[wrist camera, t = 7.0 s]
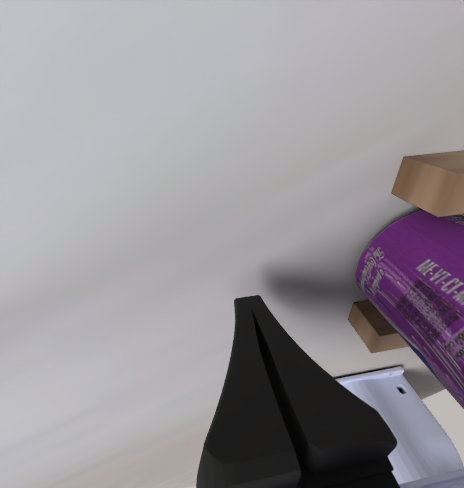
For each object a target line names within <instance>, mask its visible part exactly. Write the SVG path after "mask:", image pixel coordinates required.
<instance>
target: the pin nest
mask: <svg viewBox="0 0 464 488" xmlns="http://www.w3.org/2000/svg"><path fill="white" fill-rule="evenodd" d="M391 194H393V195H395V196H397V197H399V198H401V199H403V200H405V201H407V202H409V203H411V204H413V205H415V206H417V207H419V208H421V209H423V210H425V211H427V212H429V213H431V214H433V215H435V216H437V217H443V216H450V215H458V214H464V151H457V152H447V153H437V154H427V155H417V156H407V157H404V158H403V161H402V164H401V166H400V169H399V172H398V175H397V178H396V181H395V184H394V187H393V190H392V193H391ZM348 320H349V322H350V323H351V325H352V326H353V327H354V329H355V330H356V332H357V333H358V335H359V336H360V337H361V339H362V340H363V342H364V343H365V345H366V346H367V348H368V349H369V350H370V352H371V353H376V352H381V351H386V350H392V349H397V348H402V347H408V346H409V345H408V344H407V343H406V342H405V340H404V339H403V338H402V337H401V336H400V335H399V334H398V332H397V331H396V330H395V329H394V328H393V327H392V325H391V324H390V323H389V322H388V321H387V320H386V318H385V317H384V316H383V315H382V314H381V313H380V312H379V310H378V309H377V308H376V307H375V306H374V305H373V303H372V302H371V301H370V300H369V301H363V302H357V303H354V304H353V307H352V310H351V313H350V315H349V318H348Z"/></svg>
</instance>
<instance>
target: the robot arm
mask: <svg viewBox="0 0 464 488" xmlns="http://www.w3.org/2000/svg"><path fill="white" fill-rule="evenodd" d="M234 306H235V332H234V340H233V346H232V352H231V357H230V362H229V367H228V371H227V375H226V379H225V383H224V386H223V390H222V393H221V397H220V400H219V403H218V406H217V409H216V412H215V415H214V418H213V421H212V424H211V426H210V429H209V432H208V434H207V437H206V440H205V443H204V447H203V452H202V456H201V460H200V464H199V469H198V475H197V484H196V488H464V467H463V463H462V461H461V459H460V456H459V454H458V452H457V450H456V448H455V446H454V444H453V443H452V441H451V439H450V438H449V437H448V435H447V433H446V432H445V431H444V429H443V428H442V427H441V425H440V424H439V423H438V421H437V420H436V419H435V418H434V416H433V415H432V413H431V412H430V411H429V409H428V408H427V407H426V405H425V404H424V403H423V401H422V400H421V399H420V397H419V396H418V395H417V393H416V392H415V391H414V389H413V388H412V387H411V385H410V384H409V383H408V381H407V380H406V379H405V377H404V376H403V375H402V374H403V373H404V369H403V368H402V367H395V368H390V369H385V370H380V371H374V372H369V373H364V374H359V375H354V376H349V377H343V378H338V379H334V378H333V377H332V376H331V375H329V374H328V373H327V372H326V371H325V370H323V369H322V368H321V367H320V366H319V365H318V364H317V363H316V362H315V361H314V360H312V359H311V358H310V357H309V356H308V355H307V354H306V353H305V352H304V351H303V350H302V349H301V348H300V347H299V346H298V345H297V344H296V342H295V341H294V340H293V339H292V338H291V337H290V336H289V335H288V333H287V332H286V331H285V330H284V329H283V327H282V326H281V325H280V324H279V322H278V321H277V320H276V319H275V317H274V316H273V315H272V313H271V312H270V310H269V309H268V308H267V306H266V305H265V303H264V301H263V300H262V298H261V296H259V295H256V296H250V297H243V298H236V299H235V300H234Z"/></svg>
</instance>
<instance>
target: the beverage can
mask: <svg viewBox="0 0 464 488" xmlns="http://www.w3.org/2000/svg"><path fill="white" fill-rule="evenodd" d="M356 282H357V285H358V287H359V288H360V290H361V291H362V292H363V293H364V294H365V295H366V296H367V298H368V299H369V300H370V301H371V302H372V303H373V305H374V306H375V307H376V308H377V309H378V310H379V312H380V313H381V314H382V315H383V316H384V317H385V318H386V320H387V321H388V322H389V323H390V324H391V325H392V327H393V328H394V329H395V330H396V331H397V332H398V334H399V335H400V336H401V337H402V338H403V339H404V340H405V342H406V343H407V344H408V345H409V346H410V347H411V349H412V350H413V351H414V352H415V353H416V354H417V356H418V357H419V358H420V359H421V360H422V361H423V362H424V364H425V365H426V366H427V367H428V368H429V369H430V371H431V372H432V373H433V374H434V375H435V376H436V378H437V379H438V380H439V381H440V382H441V383H442V384H443V386H444V387H445V388H446V389H447V390H448V391H449V393H451V395H452V396H453V397H454V398H455V400H457V402H458V403H459V404H460V405H461V406H462V408H463V409H464V216H462V215H460V214H458V215H450V216H443V217H437V216H435V215H433V214H431V213H429V212H427V211H425V210H421V211H417V212H414V213H412V214H409V215H407V216H405V217H403V218H401V219H399V220H397V221H396V222H394V223H393V224H391V225H390V226H388V227H387V228H386V229H384V230H383V231H382V232H381V233H380V234H379V235H377V236H376V237H375V238H374V239H373V241H372V242H371V243H370V244H369V245H368V246H367V248H366V249H365V251H364V252H363V254H362V256H361V257H360V260H359V262H358V265H357V268H356Z"/></svg>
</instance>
